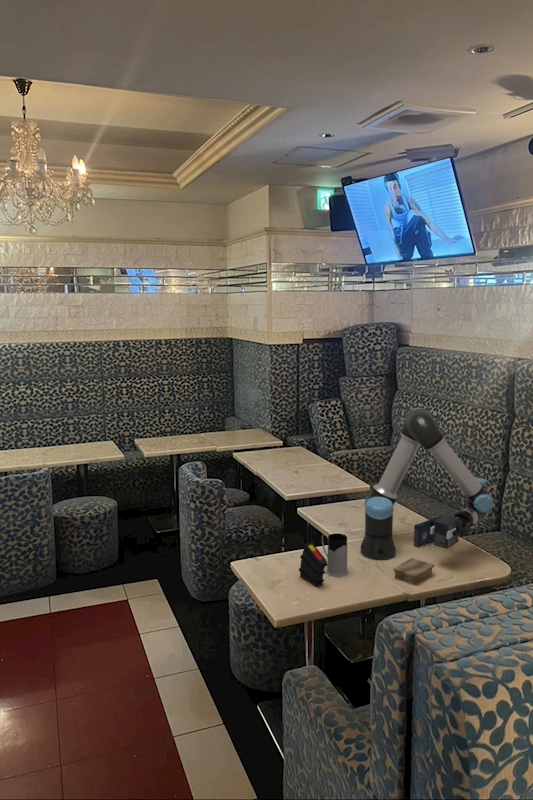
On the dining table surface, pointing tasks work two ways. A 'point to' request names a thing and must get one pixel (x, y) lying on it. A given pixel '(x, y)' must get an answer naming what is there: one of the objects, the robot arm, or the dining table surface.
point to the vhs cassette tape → (423, 533)
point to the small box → (445, 531)
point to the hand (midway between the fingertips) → (439, 533)
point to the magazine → (312, 565)
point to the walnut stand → (413, 571)
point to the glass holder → (336, 555)
